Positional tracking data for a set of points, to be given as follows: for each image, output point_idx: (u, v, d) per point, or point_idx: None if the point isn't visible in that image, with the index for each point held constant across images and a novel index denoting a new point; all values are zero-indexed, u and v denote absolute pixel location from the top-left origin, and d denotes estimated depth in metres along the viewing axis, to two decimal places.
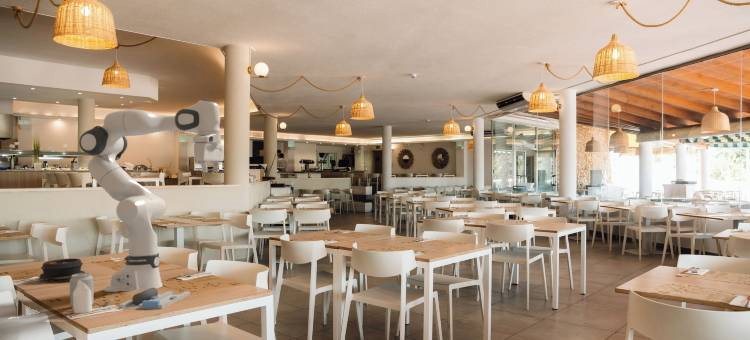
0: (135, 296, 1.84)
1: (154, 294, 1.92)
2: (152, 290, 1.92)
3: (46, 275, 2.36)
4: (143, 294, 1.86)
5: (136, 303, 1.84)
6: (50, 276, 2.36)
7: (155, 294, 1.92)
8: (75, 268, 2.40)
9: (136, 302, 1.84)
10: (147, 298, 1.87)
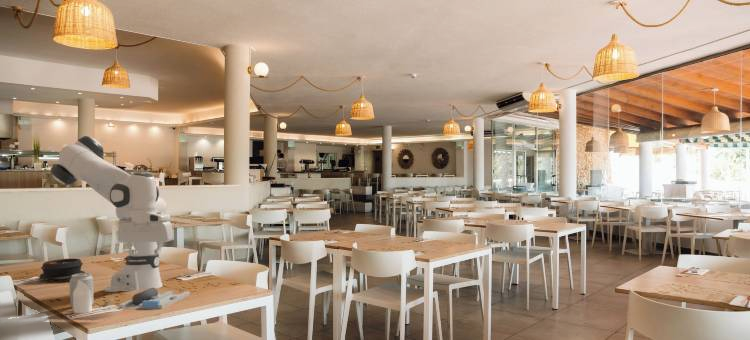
0: (135, 296, 1.84)
1: (154, 294, 1.92)
2: (152, 290, 1.92)
3: (46, 275, 2.36)
4: (143, 294, 1.86)
5: (136, 303, 1.84)
6: (50, 276, 2.36)
7: (155, 294, 1.92)
8: (75, 268, 2.40)
9: (136, 302, 1.84)
10: (147, 298, 1.87)
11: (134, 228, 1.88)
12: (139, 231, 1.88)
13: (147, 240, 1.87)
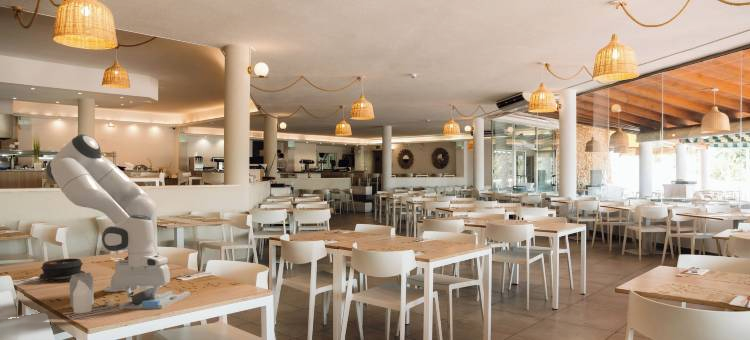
0: (134, 296, 1.84)
1: None
2: (151, 290, 1.92)
3: (46, 275, 2.36)
4: (143, 294, 1.86)
5: (136, 303, 1.84)
6: (50, 276, 2.36)
7: None
8: (75, 268, 2.40)
9: (136, 302, 1.84)
10: (147, 298, 1.87)
11: (131, 271, 1.87)
12: (136, 274, 1.87)
13: (144, 284, 1.86)
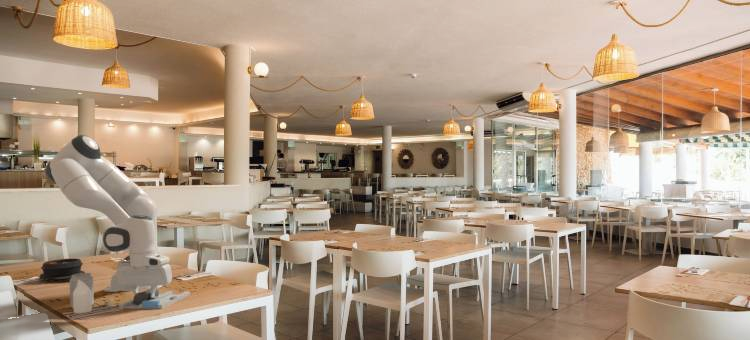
0: (137, 296, 1.84)
1: None
2: None
3: (46, 275, 2.36)
4: (146, 296, 1.86)
5: (136, 302, 1.84)
6: (50, 276, 2.36)
7: None
8: (75, 268, 2.40)
9: (137, 302, 1.84)
10: None
11: (133, 271, 1.87)
12: (138, 274, 1.87)
13: (146, 284, 1.86)
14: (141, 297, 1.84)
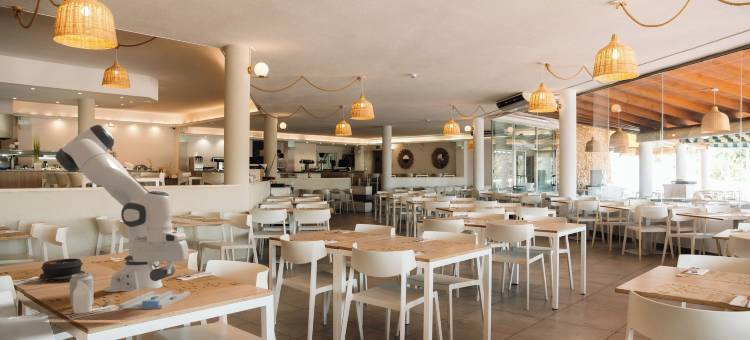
0: (153, 271, 1.83)
1: (171, 273, 1.91)
2: None
3: (46, 275, 2.36)
4: (162, 272, 1.85)
5: (152, 278, 1.83)
6: (50, 276, 2.36)
7: (172, 273, 1.91)
8: (75, 268, 2.40)
9: (153, 278, 1.83)
10: (164, 276, 1.86)
11: (150, 247, 1.86)
12: (154, 250, 1.86)
13: (163, 260, 1.85)
14: (157, 273, 1.83)
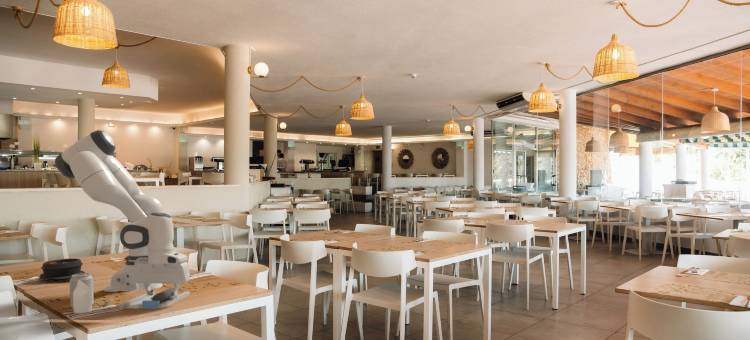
0: (157, 296, 1.83)
1: None
2: None
3: (46, 275, 2.36)
4: (165, 297, 1.85)
5: None
6: (50, 276, 2.36)
7: None
8: (75, 268, 2.40)
9: None
10: None
11: (151, 269, 1.86)
12: (156, 272, 1.86)
13: (164, 281, 1.85)
14: (160, 298, 1.83)
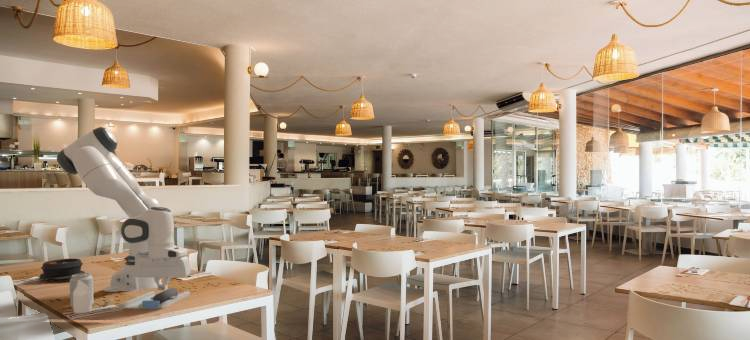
0: (159, 296, 1.83)
1: None
2: (174, 294, 1.91)
3: (46, 275, 2.36)
4: (166, 298, 1.85)
5: None
6: (50, 276, 2.36)
7: None
8: (75, 268, 2.40)
9: None
10: None
11: (151, 263, 1.86)
12: (156, 266, 1.86)
13: (164, 276, 1.86)
14: (161, 299, 1.83)
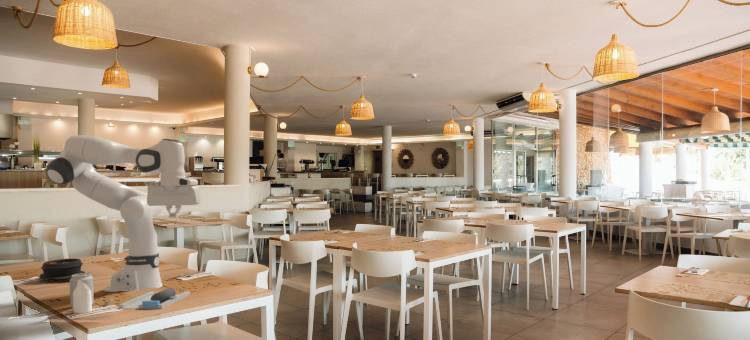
0: (155, 296, 1.84)
1: None
2: (171, 291, 1.91)
3: (46, 275, 2.36)
4: (163, 296, 1.85)
5: None
6: (50, 276, 2.36)
7: None
8: (75, 268, 2.40)
9: None
10: (165, 300, 1.86)
11: (163, 192, 1.95)
12: (168, 195, 1.95)
13: (176, 203, 1.94)
14: (158, 297, 1.83)
